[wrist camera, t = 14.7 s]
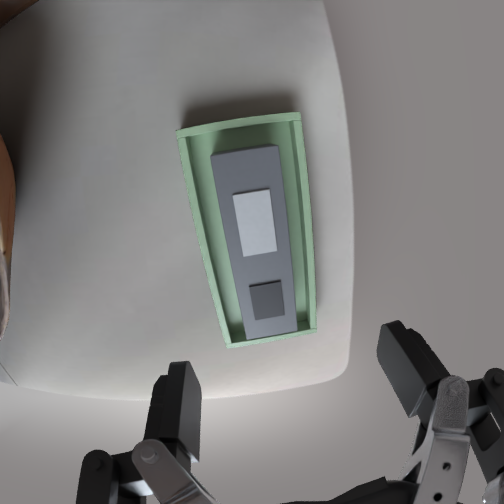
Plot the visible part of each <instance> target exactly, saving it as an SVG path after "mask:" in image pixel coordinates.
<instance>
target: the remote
mask: <svg viewBox="0 0 504 504" xmlns="http://www.w3.org/2000/svg"><path fill="white" fill-rule="evenodd" d="M210 160H211V166H212V171H213V177H214V182H215V188H216V193H217V198H218V203H219V209H220V214H221V219H222V224H223V229H224V234H225V239H226V244H227V249H228V254H229V259H230V264H231V269H232V274H233V278H234V283H235V288H236V293H237V297H238V302H239V307H240V311H241V316H242V321H243V325H244V330H245V334H246V339H247V340H249V339H255V338H261V337H266V336H272V335H278V334H283V333H288V332H293V331H297V330H298V328H297V314H296V301H295V289H294V277H293V266H292V256H291V246H290V236H289V226H288V217H287V208H286V200H285V191H284V183H283V175H282V167H281V160H280V152H279V146H278V145H275V144H271V143H270V144H263V145H256V146H249V147H242V148H236V149H230V150H224V151H219V152H213V153H212V154H211V155H210Z"/></svg>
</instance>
